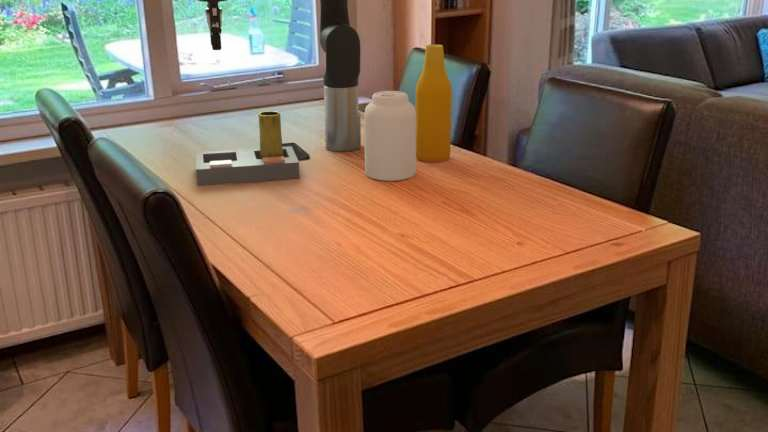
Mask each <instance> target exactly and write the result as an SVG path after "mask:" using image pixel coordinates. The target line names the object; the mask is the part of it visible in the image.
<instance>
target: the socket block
mask: <svg viewBox="0 0 768 432" xmlns="http://www.w3.org/2000/svg"><path fill="white" fill-rule="evenodd" d="M282 150H283V156H280V157H265V158H263V159H260V147H259V148H243V149H232V150H231V149H230V150H229V149H228V150H227V149H226V150H215V151H200V152H199V151H198V152H195V170H196V171H195V172H196V182H197V186H199V187H200V186H201V187H202V186H212V185H216V186H217V185H227V184H229V185H230V184H240V183H242V184H243V183H255V182H267V181H268V182H270V181H280V180H281V181H283V180H294V179H296V180H297V179H301V177H300V175H301V174H300V162H299V161H300V160H298V159H297V157H296V155H295V153H294V150H293V148H292V146H288V147H282Z"/></svg>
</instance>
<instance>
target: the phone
mask: <svg viewBox="0 0 768 432" xmlns="http://www.w3.org/2000/svg"><path fill="white" fill-rule="evenodd" d="M288 146H292V148H293V150H294V153H295V155H296V157H297V159H298V161H305V160H309V159H311V157H310V154H309V153H307V151H306V150H304V149H303V148H302V147H301V146H300V145H299V144H298V143H296V142H284V143H282V147H288Z"/></svg>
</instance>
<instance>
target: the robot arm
mask: <svg viewBox="0 0 768 432" xmlns="http://www.w3.org/2000/svg"><path fill="white" fill-rule="evenodd" d="M198 1H199V2H207V4H206V8H205V9H204V10H205V11H204V12H205V17H206V24H207V26H208V29H209V35H210V45H211V48H212V50H213V51H221V50H222V39H221V38H222V36H221V34H222V26H223V20H222V17H223V9H222V7H219V2H226V1H228V0H198ZM319 1H320V2H319V3H320V5H319V6H320V13H319V14H320V18H319V19H320V20H319V21H320V23H319V24H320V25H319V44H320V46H321V47H320V48H322V50H323V52H324V53H325V72H324V74H323V100H324V101H323V103H324V104H323V106H324V132H325V133H324V134H325V136H324V137H325V139H324V140H325V142H324V143H325V148H326V149H327V150H328V151H333V152H351V151H354V150H358V149H359V150H361V149H362V146H361V145H362V135H361V131H362V126H361V125H362V124H361V122H362V121H361V113H359V112H360V111H359V77H360V74H361V40H360V35H359V33H358V32H357V31H356V29H355V28H353V27H352V26H351V24H350V23H351V22H350V17H349V8H348V7H349V5H348V2H349V1H348V0H319Z"/></svg>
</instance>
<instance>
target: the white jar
mask: <svg viewBox="0 0 768 432" xmlns="http://www.w3.org/2000/svg"><path fill="white" fill-rule="evenodd" d="M363 120H364V121H363V122H364V123H363V125H364V126H363V128H364V129H363V130H364V131H363V132H364V138H363V139H364V173H365V175H366V176H367V177H368V178H371V179H373V180H378V181H385V182H394V181H395V182H396V181H403V180H406V179H407V180H408V179H411V178H412V177H414V176H415V175H416V171H417V164H416V163H417V158H416V106H415V105H414V104H412V102H411V101H409V95H408V94H407V93H406V92H404V91H400V90H399V91H398V90H382V91H377V92H375V93H373V94H372V96H371V101H370V102H369V103H368V104H367V105H366V106H365V110H364V113H363Z"/></svg>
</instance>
